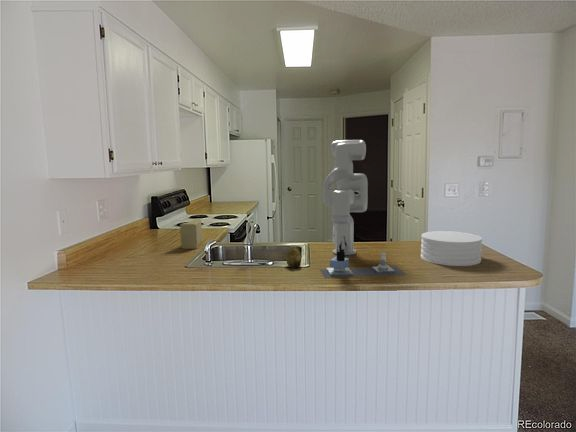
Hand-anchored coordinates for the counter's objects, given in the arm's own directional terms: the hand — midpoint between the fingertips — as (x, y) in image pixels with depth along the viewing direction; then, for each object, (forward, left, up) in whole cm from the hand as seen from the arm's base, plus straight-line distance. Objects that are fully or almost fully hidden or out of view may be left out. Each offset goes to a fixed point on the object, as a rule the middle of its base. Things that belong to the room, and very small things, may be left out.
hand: (340, 260), depth 175 cm
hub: (-2, 0, -6) cm, 6 cm away
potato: (-17, -19, -7) cm, 27 cm away
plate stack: (-20, +60, -7) cm, 64 cm away
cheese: (-73, -73, -7) cm, 103 cm away
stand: (-2, +20, -6) cm, 21 cm away
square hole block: (-3, 0, -4) cm, 4 cm away
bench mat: (-1, +10, -6) cm, 12 cm away
